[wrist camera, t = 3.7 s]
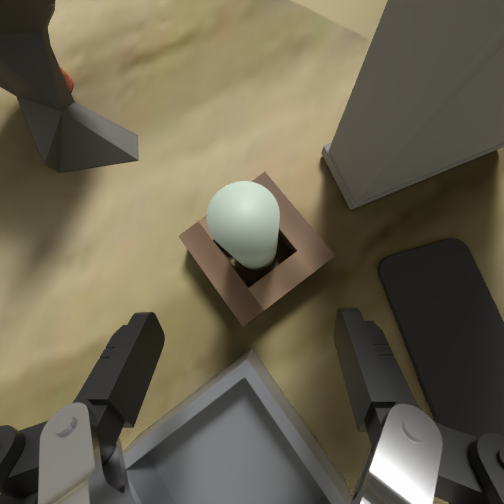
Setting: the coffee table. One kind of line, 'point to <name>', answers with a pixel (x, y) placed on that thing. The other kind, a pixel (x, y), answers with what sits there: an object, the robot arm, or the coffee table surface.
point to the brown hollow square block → (276, 281)
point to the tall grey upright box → (421, 97)
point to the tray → (233, 448)
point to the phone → (450, 333)
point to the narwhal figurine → (54, 95)
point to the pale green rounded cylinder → (245, 223)
